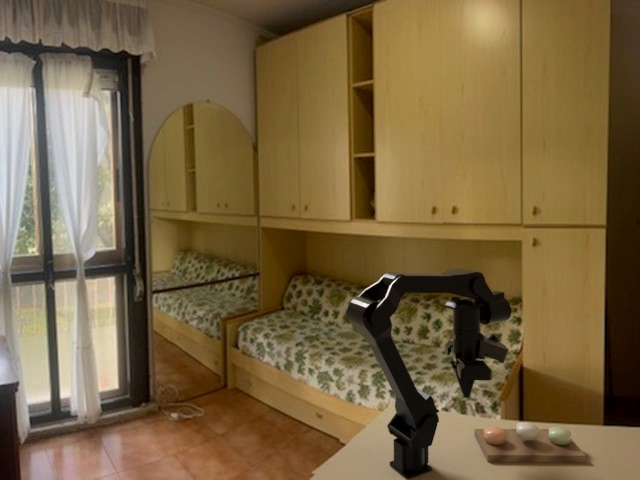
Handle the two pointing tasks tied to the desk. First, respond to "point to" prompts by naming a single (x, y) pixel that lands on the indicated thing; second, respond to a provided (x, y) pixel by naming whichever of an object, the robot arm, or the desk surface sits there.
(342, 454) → the desk surface
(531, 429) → the grey button
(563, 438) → the sage button
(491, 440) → the terracotta button
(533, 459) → the console
